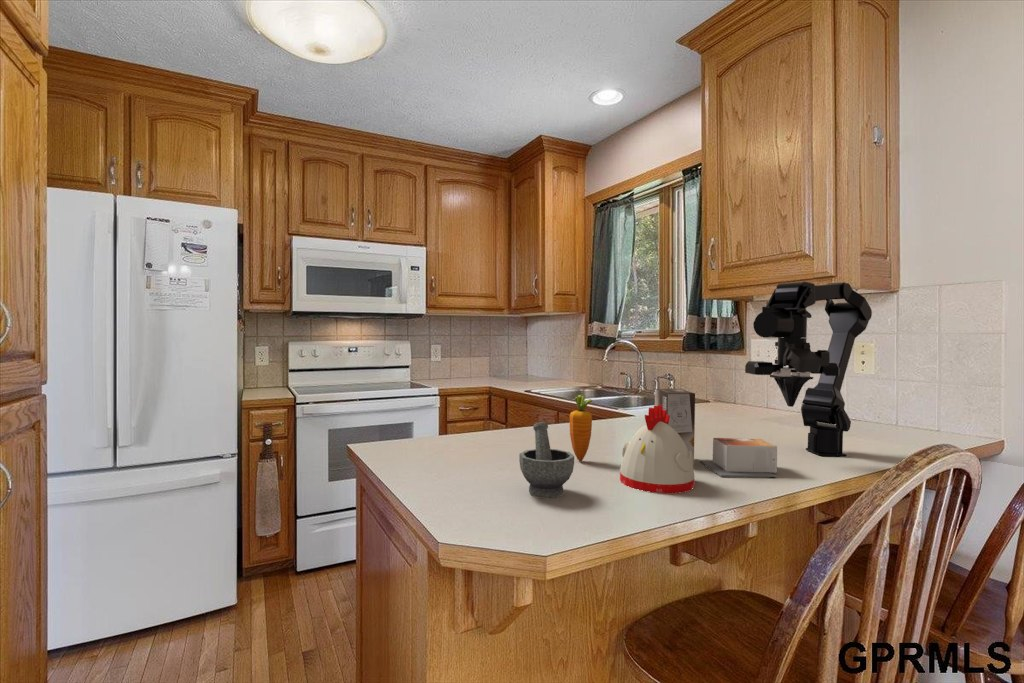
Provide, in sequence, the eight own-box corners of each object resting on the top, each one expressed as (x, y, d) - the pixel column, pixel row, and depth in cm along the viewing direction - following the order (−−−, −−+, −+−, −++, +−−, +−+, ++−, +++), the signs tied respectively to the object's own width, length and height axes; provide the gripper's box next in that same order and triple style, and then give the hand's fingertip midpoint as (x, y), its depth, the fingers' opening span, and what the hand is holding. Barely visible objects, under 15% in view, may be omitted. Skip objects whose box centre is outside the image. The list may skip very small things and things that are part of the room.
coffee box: (695, 467, 113) (696, 393, 112) (666, 467, 112) (667, 392, 112) (679, 456, 122) (680, 388, 122) (652, 456, 122) (653, 388, 121)
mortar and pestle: (579, 500, 90) (580, 431, 89) (526, 503, 88) (527, 432, 88) (561, 481, 101) (562, 419, 101) (514, 483, 99) (515, 420, 99)
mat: (749, 462, 117) (749, 460, 117) (775, 477, 105) (775, 475, 105) (699, 462, 117) (699, 460, 117) (720, 477, 105) (720, 475, 105)
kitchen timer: (606, 481, 101) (607, 404, 101) (643, 468, 111) (644, 398, 111) (672, 498, 91) (674, 413, 91) (706, 483, 101) (708, 406, 101)
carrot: (579, 457, 120) (580, 392, 120) (596, 462, 116) (597, 394, 116) (564, 460, 117) (565, 394, 116) (580, 465, 113) (581, 396, 113)
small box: (778, 446, 107) (727, 445, 107) (777, 473, 107) (726, 472, 107) (760, 438, 115) (712, 437, 115) (759, 463, 115) (711, 462, 115)
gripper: (767, 337, 110) (766, 411, 111) (856, 339, 110) (854, 412, 110) (744, 337, 121) (743, 404, 122) (825, 338, 121) (823, 405, 122)
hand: (790, 406), depth 119 cm, fingers closed
